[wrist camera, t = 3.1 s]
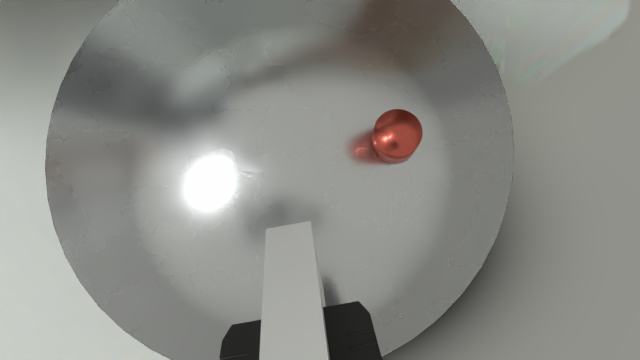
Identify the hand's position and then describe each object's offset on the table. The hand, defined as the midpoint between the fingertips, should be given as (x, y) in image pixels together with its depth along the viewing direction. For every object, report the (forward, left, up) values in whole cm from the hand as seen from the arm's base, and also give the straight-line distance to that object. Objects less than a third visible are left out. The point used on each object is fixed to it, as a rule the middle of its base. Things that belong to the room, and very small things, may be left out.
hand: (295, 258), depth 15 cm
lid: (0, -1, -5) cm, 5 cm away
